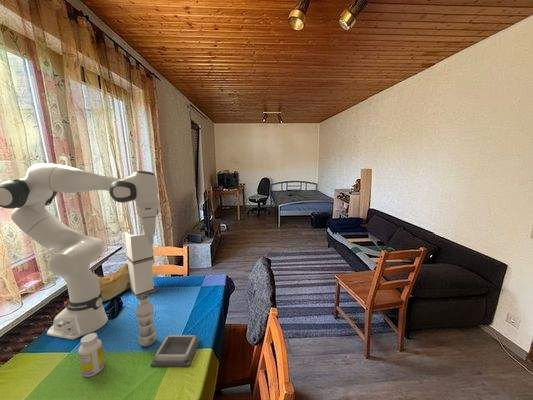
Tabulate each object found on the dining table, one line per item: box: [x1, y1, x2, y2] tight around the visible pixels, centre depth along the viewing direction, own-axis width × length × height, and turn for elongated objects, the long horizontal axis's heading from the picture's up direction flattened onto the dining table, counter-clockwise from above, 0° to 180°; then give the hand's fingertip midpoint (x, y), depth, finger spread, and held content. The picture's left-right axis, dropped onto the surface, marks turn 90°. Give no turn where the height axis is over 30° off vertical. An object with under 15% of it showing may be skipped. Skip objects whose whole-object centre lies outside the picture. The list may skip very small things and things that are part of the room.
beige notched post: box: [124, 231, 157, 299], centre depth 136 cm, size 11×11×35 cm
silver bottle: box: [135, 294, 157, 348], centre depth 96 cm, size 6×7×20 cm
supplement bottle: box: [77, 332, 105, 378], centre depth 84 cm, size 7×7×13 cm
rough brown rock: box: [98, 263, 130, 303], centre depth 136 cm, size 23×17×15 cm
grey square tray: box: [150, 334, 201, 368], centre depth 92 cm, size 14×13×3 cm
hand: (151, 240), depth 103 cm, fingers open, 8 cm apart
